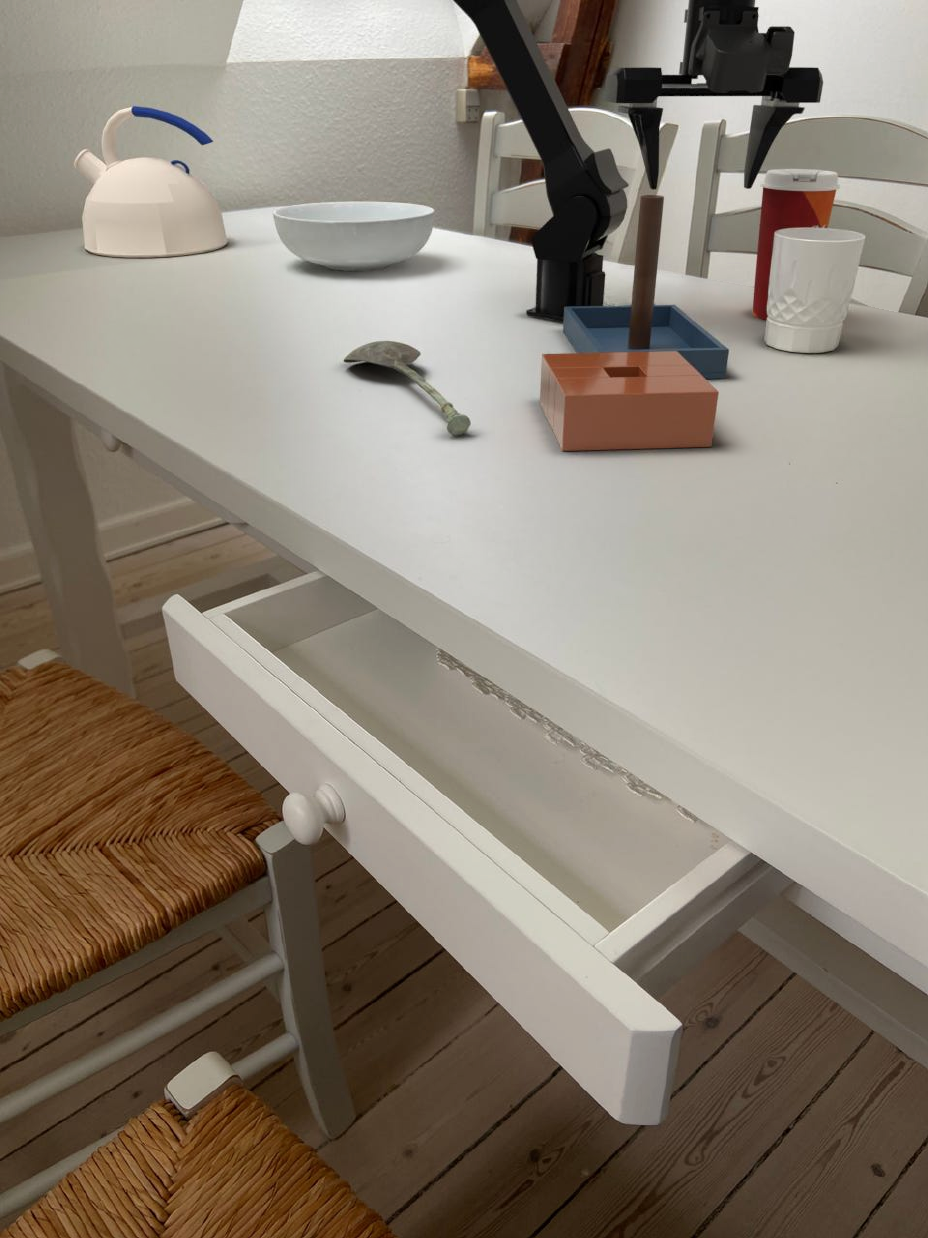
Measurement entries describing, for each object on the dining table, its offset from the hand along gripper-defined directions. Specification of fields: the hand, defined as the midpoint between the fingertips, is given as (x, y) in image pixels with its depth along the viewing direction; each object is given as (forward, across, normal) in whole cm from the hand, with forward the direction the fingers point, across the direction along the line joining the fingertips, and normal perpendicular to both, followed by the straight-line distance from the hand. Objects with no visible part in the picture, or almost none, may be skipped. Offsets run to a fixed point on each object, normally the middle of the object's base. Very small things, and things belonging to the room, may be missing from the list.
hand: (700, 188), depth 92 cm
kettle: (+13, -63, +54) cm, 84 cm away
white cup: (+13, +9, -8) cm, 18 cm away
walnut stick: (+12, -7, -10) cm, 17 cm away
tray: (+13, -7, -10) cm, 18 cm away
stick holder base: (+13, -13, -30) cm, 35 cm away
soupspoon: (+13, -29, -21) cm, 38 cm away
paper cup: (+13, +11, +4) cm, 18 cm away
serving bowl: (+13, -34, +37) cm, 52 cm away
